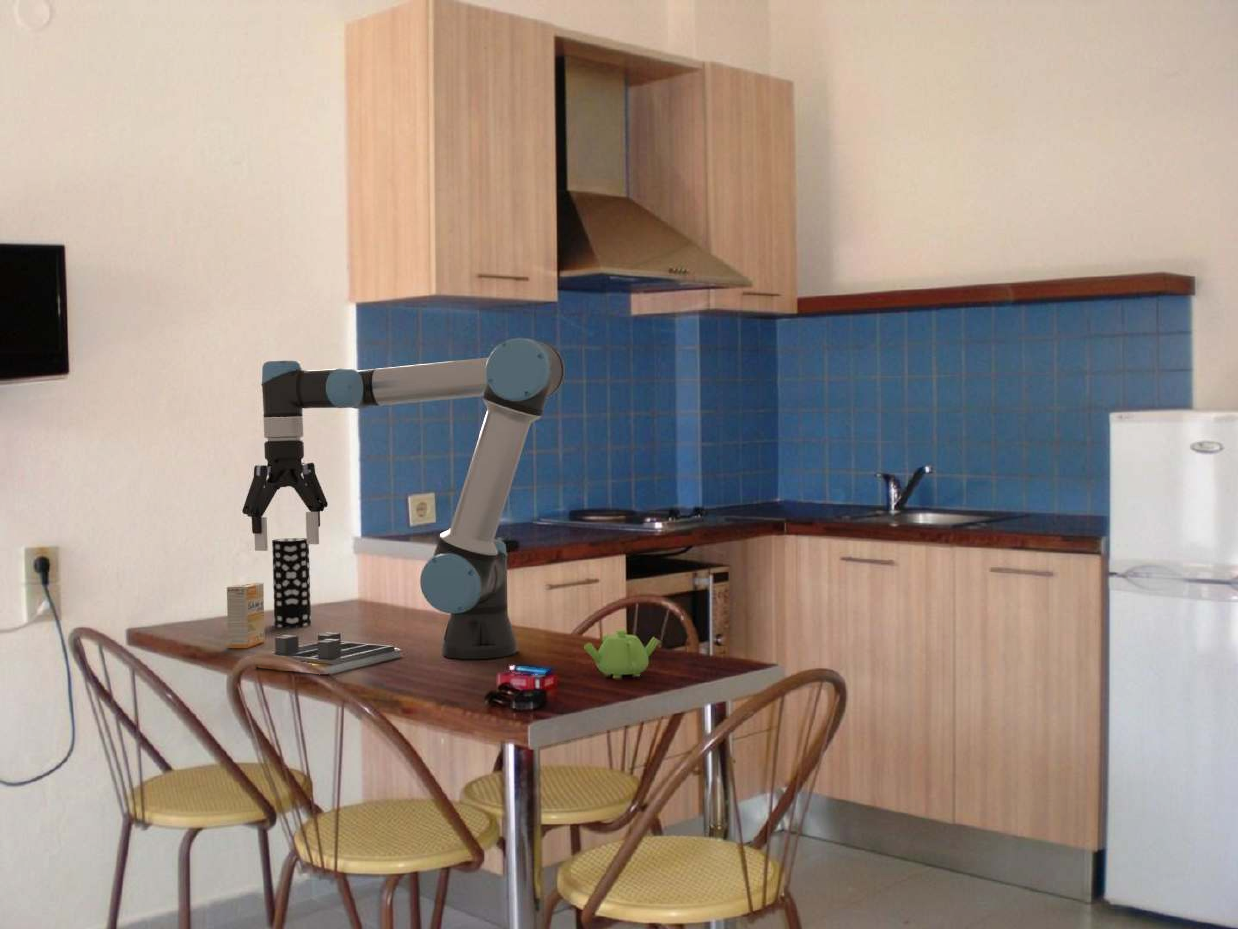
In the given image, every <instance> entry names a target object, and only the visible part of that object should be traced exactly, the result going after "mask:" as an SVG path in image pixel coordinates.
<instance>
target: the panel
mask: <svg viewBox="0 0 1238 929" xmlns="http://www.w3.org/2000/svg"><path fill="white" fill-rule="evenodd" d="M298 646H299V653H296V654H292V655H280V654H276V650H275V651H272V652H270V653H271V654H275V655H278V656H286V657H289V658H292V659H295V660H299V661H301V662H307V663H309V664H312V665H313V666H315V667H317V668H319V669H322V670H324V671H325V672H328V673H330V675H333V674H337V673H341V672H342V673H343V672H346V671H350V670H355V669H358V668H362V667H365V666H366V667H368V666H371V665H374V664H378V663H382V662H386V661H390V660H395V659H399V658H402V657H403V656H402V655H403V654H402V649H400V648H398V647H395V645H388V644H387V645H384V644H378V643H377V644H376V643H375V644H374V643H366V642H365V643H364V642H363V643H362V642H355V641H354V642H351V641H341V657H340V658H335V659H331V660H330V659H320V658H318V648H317V642H313V643H310V644H309V643H308V644H305V645H304V644H303V645H298Z"/></svg>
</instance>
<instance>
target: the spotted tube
mask: <svg viewBox="0 0 1238 929" xmlns="http://www.w3.org/2000/svg"><path fill="white" fill-rule="evenodd" d="M271 544H272V545H271V546H272V548H271V549H272V574H273V575H272V576H273V579H272V580H273V584H272V585H273V586H272V588H273V615H274V616H273V618H274V619H273V620H274V623H273V624H274V627H276V628H289V629H291V628H292V629H293V628H300V627H301V628H302V627H307V626H310V625H311V624H312V616H311V615H312V614H311V613H312V612H311V611H312V610H311V609H312V608H311V605H312V604H311V573H310V569H311V568H310V566H311V565H310V544H307V537H306V538H305V537H304V538H303V537H301V538H300V537H295V538H294V537H293V538H292V537H290V538H287V537H286V538H277V539H272V542H271Z"/></svg>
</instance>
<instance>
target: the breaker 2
mask: <svg viewBox="0 0 1238 929" xmlns="http://www.w3.org/2000/svg"><path fill="white" fill-rule="evenodd" d="M341 640H342V639H341ZM341 640H339V639H324V640H322V641H318V640H317V641H316V643H317V648H318V658H320V659H330V660H331V659H335V658H340V657H341Z"/></svg>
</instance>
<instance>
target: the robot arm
mask: <svg viewBox="0 0 1238 929" xmlns="http://www.w3.org/2000/svg"><path fill="white" fill-rule="evenodd" d="M261 371H262V374H261V375H262V377H261V384H260V385H261V387H262V388H261V390H262V407H263V416H262V417H263V437H264V438H265V439H267V440H266V441H265V442H264V443H263V446H264V448H263V449H264V459H265V460H267V465H266V464H265V465H264V464H263V465H260V464H259V465H254V467H253V477H252V481H251V483H250V487H249V490H248V492H247V495H246V499H245V502H244V504H243V508H242V514H243V515H247V517H248V518H251V532H252V534H253V535H254V536H253V537H254V551H257V552H259V551H260V552H266V551H267V552H268V551H269V550H268V548H269V546H268V544H269V543H268V522H267V519H268V518H267V516H264V514H265V513H266V510H267V509H268V507H269V506H270V504H271V502H272V500H273V498H274V496H275V495H276V493H277V491H278V490H280V489H281V488H287V487H291V488H293V489H294V490H295V492H296V493H297V495H298V496H299V498H300V500H301V501H302V502H303V504H304V505H305V506H306V508H307V509H308V511H305V526H306V527H305V530H306V539H307V544H309V545H319V544H320V536H319V535H320V532H319V530H320V529H319V528H320V526H321V512H323V511H325V508H327V507H328V505H329V503H328V501H327V498H326V496H325V494H324V490H323V489H322V486H321V484H320V482H319V479H318V476H317V474H316V466H315V463H314V462H302V459H304V457H305V447H304V445H305V444H304V441H303V440H301V439H302V438H303V437H304V423H303V422H304V421H303V410H305V409H351V408H352V409H357V410H359V409H367V408H369V407H379V406H388V405H389V406H390V405H399V404H400V405H401V404H409V403H410V404H411V403H419V402H420V403H422V402H431V401H432V402H435V401H442V400H443V401H444V400H454V399H463V398H466V399H467V398H473V397H474V398H475V397H482V401H483V403H484V405H485V407H486V414H485V417H484V419H483V422H482V426H481V429H480V432H479V436H478V440H477V442H476V446H475V449H474V452H473V455H472V459H471V461H470V465H469V467H468V471H467V474H466V477H465V481H464V484H463V486H462V490H461V494H460V496H459V500H458V503H457V506H456V510H455V513H454V516H453V518H452V522H451V524H450V528H448V530H445V531H443V532H441V533H440V535H439V537H438V541H437V543H436V547H435V549H434V554H433V556H432V557H430V558H429V560H427V562H426V563H425V565H424V566H423V568H422V571H421V573H420V580H419V581H420V582H419V583H420V589H421V593H422V595H423V596H424V598H425V600H426V601H427V602H428V604H429V605H430V606H431V607H432V608H434V609H435V610H437V611H439V612H442V613H444V614H445V613H446V614H449V619H448V622H447V626H446V630H445V633H444V635H443V636H444V637H443V640H442V642H441V655H442V656H443V657H446V658H450V659H456V660H457V659H460V660H461V659H462V660H483V659H485V660H486V659H488V660H489V659H496V658H503V657H504V658H505V657H508V656H513V655H516V654H517V653H516V652H518V641H517V638H516V636H515V632H514V629H513V625H512V622H511V621H510V620H511V619H510V616H509V612H508V608H509V606H508V554H507V546H506V544H505V542H504V541H502V540H498V539H495V537H496V534H497V531H498V529H499V528H498V527H499V524H500V522H501V518H502V515H503V511H504V509H505V505H506V502H507V499H508V497H509V493H510V491H511V490H510V489H511V486H512V483H513V481H514V477H515V474H516V471H517V468H518V466H519V465H518V464H519V461H520V458H521V455H522V452H523V448H524V446H525V442H526V439H527V436H528V433H529V429H530V426H531V425H532V423H533V422H536V421H538V420H539V419H540V418H542V414H543V412H544V409H545V406H546V403H547V400H548V398H550V397H552V396H553V395H554V394H556V393H557V392H558V390H559V389H560V388H561V387H562V384H563V383H564V378H565V371H566V368H565V363H564V359H563V357H562V356H561V354H560V353H559V351H558V350H557V349H556V348H554V347H553V345H551V344H549V343H546V342H543V341H540V340H534V339H533V338H526V337H515V338H512V339H507V340H506V341H505V340H504V341H503V342H501V343H500V344H498V345H497V346H495V348H494V349H493V350H492V352H491V353H490V355H489V356H488V357H482V358H471V359H463V360H451V361H441V362H432V363H421V364H413V365H403V366H393V367H383V368H375V369H374V368H371V369H363V370H362V369H361V370H356V369H354V368H344V367H343V368H331V369H330V368H329V369H328V368H327V369H312V370H310V369H309V370H308V369H306V370H305V369H302V365H301V362H300V361H299V360H289V359H288V360H269V361H266V362H264V363H263V365H262V370H261Z"/></svg>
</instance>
